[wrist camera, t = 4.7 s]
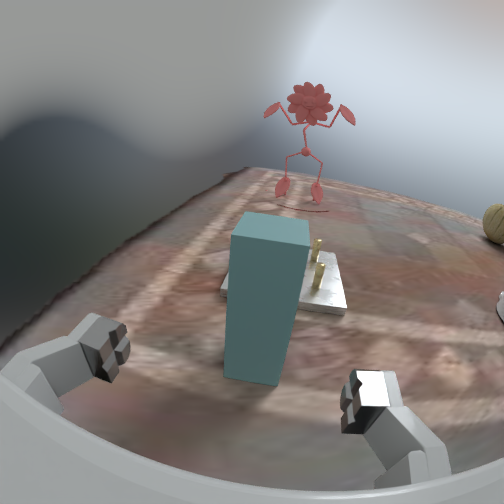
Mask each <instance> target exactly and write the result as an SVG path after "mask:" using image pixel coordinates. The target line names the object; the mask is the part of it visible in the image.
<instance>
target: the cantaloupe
mask: <svg viewBox="0 0 504 504" xmlns="http://www.w3.org/2000/svg"><path fill="white" fill-rule="evenodd" d="M483 229H484V232H485V234H486V235H487V237H488V238H489V240H491V241H492V242H494V243H497V244H503V243H504V205H502V204H494V205H492V206H490V207H489V208H488V209H487V211H486V212H485V214H484V217H483Z"/></svg>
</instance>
